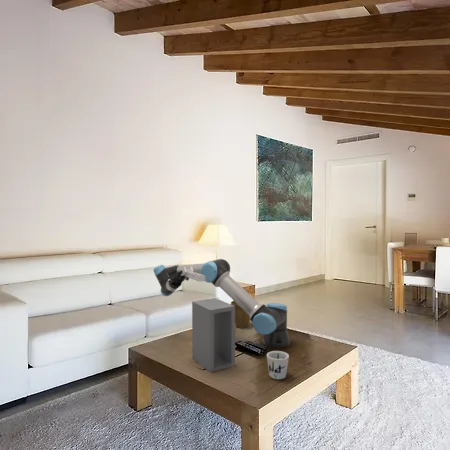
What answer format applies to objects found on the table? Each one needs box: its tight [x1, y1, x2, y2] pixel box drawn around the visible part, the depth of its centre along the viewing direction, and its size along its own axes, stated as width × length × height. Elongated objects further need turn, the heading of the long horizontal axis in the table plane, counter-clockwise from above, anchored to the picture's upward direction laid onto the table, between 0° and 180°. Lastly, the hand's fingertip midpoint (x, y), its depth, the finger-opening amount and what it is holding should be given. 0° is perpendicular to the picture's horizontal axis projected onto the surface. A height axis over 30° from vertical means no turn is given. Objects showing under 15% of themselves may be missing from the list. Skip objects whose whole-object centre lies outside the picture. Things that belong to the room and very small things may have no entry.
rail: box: [179, 269, 205, 283], centre depth 211 cm, size 26×4×3 cm, turn 32°
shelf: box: [191, 297, 236, 373], centre depth 192 cm, size 19×14×30 cm
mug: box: [266, 350, 290, 380], centre depth 179 cm, size 10×15×10 cm
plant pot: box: [230, 300, 251, 329], centre depth 249 cm, size 15×15×16 cm
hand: (188, 269), depth 214 cm, fingers closed on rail, 3 cm apart
